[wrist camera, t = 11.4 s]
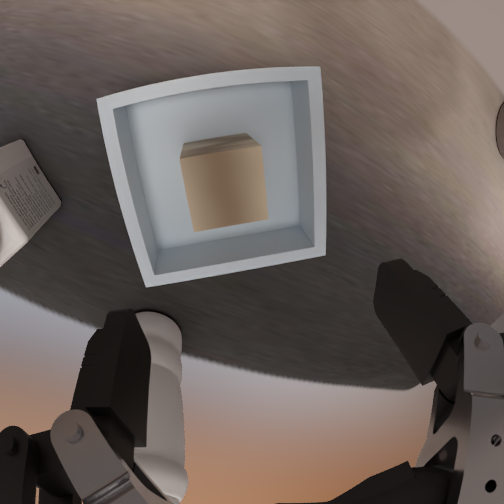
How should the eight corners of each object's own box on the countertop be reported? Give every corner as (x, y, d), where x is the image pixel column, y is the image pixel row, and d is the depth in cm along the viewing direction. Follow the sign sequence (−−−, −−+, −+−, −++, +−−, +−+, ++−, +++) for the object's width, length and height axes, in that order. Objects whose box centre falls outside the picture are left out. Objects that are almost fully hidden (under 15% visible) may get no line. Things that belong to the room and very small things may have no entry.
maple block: (246, 133, 23) (261, 145, 18) (252, 190, 26) (268, 219, 20) (183, 143, 22) (179, 158, 17) (194, 201, 25) (194, 232, 20)
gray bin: (297, 70, 22) (320, 66, 17) (306, 229, 29) (325, 255, 25) (115, 97, 20) (96, 99, 16) (152, 256, 28) (146, 287, 24)
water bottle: (109, 325, 31) (80, 548, 10) (154, 297, 30) (146, 558, 9) (149, 359, 35) (150, 560, 13) (194, 337, 34) (218, 560, 13)
